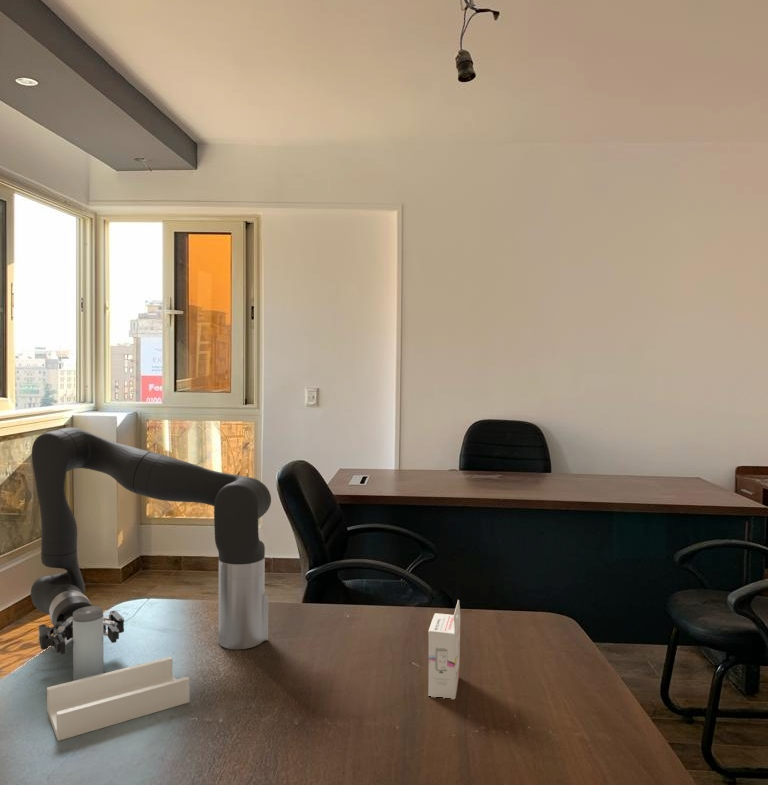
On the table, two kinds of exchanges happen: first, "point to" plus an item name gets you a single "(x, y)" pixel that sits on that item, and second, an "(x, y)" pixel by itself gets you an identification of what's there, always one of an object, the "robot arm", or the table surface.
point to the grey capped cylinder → (87, 642)
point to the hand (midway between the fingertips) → (89, 642)
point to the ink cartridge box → (444, 654)
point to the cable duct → (114, 697)
